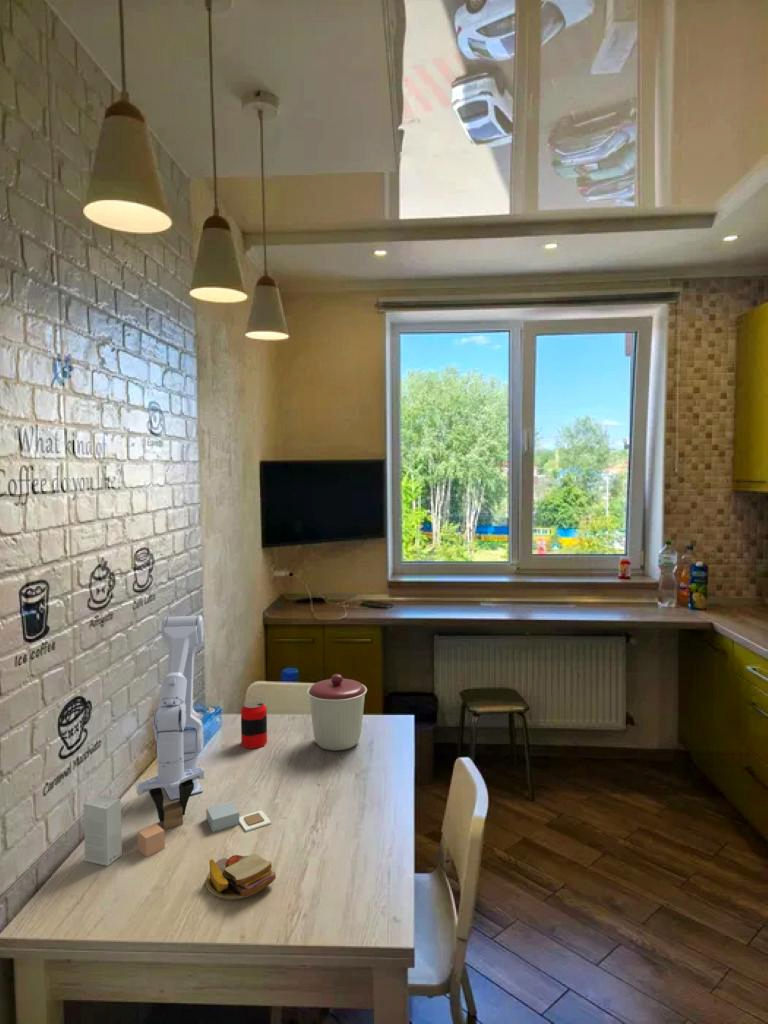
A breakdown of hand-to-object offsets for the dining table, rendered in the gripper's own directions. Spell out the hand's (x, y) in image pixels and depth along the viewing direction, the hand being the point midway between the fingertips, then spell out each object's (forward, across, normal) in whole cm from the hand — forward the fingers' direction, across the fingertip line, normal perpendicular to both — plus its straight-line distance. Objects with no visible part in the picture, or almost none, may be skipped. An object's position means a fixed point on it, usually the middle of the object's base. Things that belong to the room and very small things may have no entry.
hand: (171, 816), depth 135 cm
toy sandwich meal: (+2, +7, -29) cm, 30 cm away
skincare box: (+2, -15, -6) cm, 16 cm away
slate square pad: (+2, +10, -6) cm, 12 cm away
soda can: (+2, +31, +31) cm, 44 cm away
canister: (+2, +52, +17) cm, 55 cm away
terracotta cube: (+2, -6, -8) cm, 10 cm away
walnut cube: (+2, 0, 0) cm, 2 cm away
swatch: (+1, +16, -10) cm, 19 cm away
